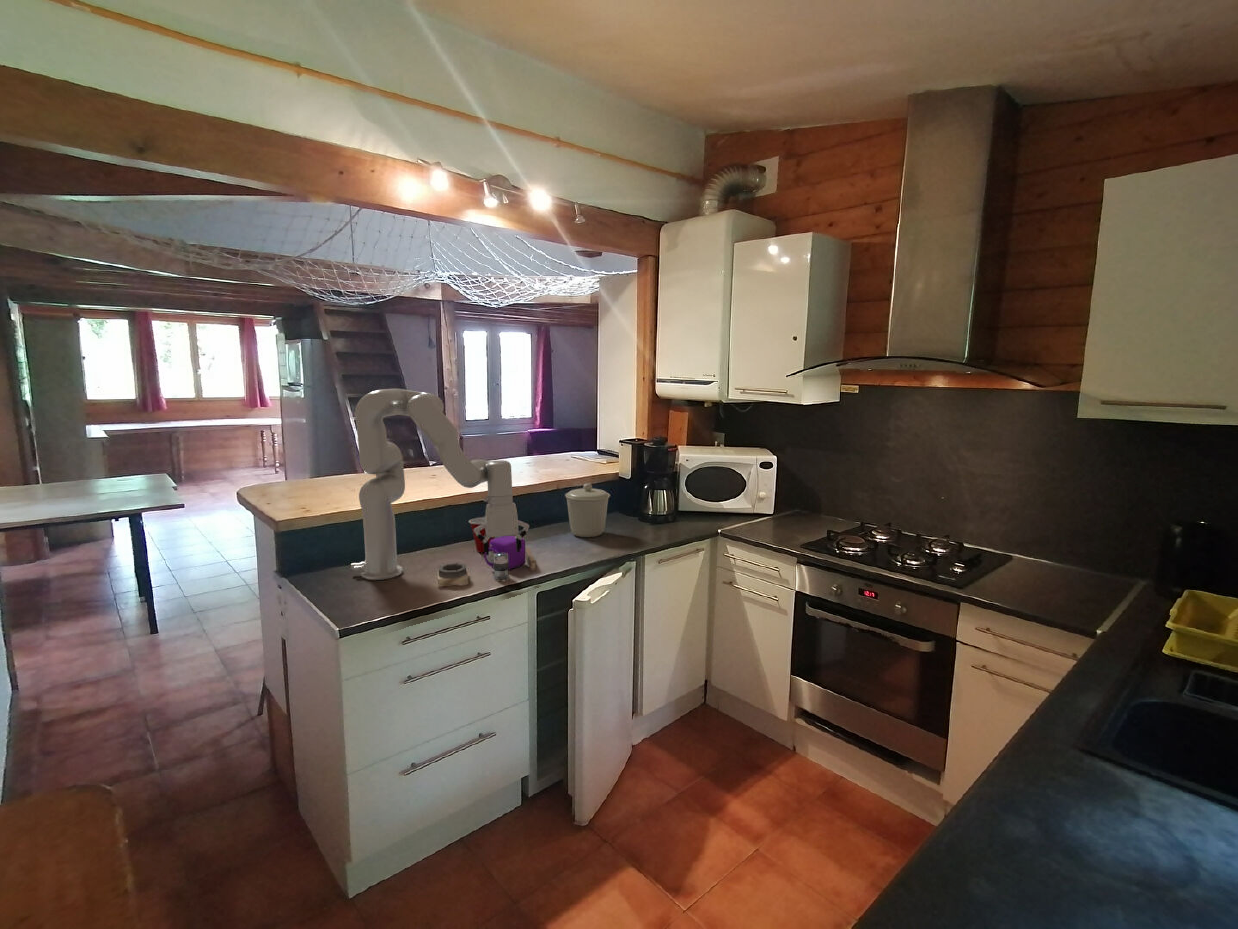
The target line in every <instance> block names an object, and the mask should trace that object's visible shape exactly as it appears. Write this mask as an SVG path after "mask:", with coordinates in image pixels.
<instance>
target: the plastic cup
mask: <svg viewBox="0 0 1238 929" xmlns="http://www.w3.org/2000/svg"><path fill="white" fill-rule="evenodd" d="M468 523H469V524H470V527H471V530H472V534H473V539H474V543H475V549H476V551H477V552H478V553H482V552H484V544H483V542H482V541H481V540H480V539H479V538H478V537H477V535H476V534H475V532H474V529H475V528H476V527H478V526H480V525H482V524H483V523H485V516H482V517H476V518H472V519H469V520H468ZM479 532H480V534H481V535H482V536H485V534H486V530H485V528H484V529H482V530H480V531H479ZM495 538H496V537H490V538H489V540H488V544H489V543H490V541H491V540H492V539H495Z"/></svg>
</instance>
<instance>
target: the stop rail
mask: <svg viewBox="0 0 1238 929" xmlns="http://www.w3.org/2000/svg"><path fill="white" fill-rule="evenodd" d="M525 558H526V559H525V562H526V563H527V566H528V565H529V566H528V568H529V569H530V571H535V570H536V559H535V557H534V555H533V553H532V550H531V549H530V548H529V547H525Z"/></svg>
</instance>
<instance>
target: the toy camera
mask: <svg viewBox="0 0 1238 929" xmlns="http://www.w3.org/2000/svg"><path fill="white" fill-rule="evenodd" d="M516 538H517V537H516V536H515V535H514V536H504V537H495V539H492V540H491V541H490V543H489V555H487V554H486V552H485V553H484V560H485V562H486V564H487V565H488V566H489V567H491V568H493V562H494V554H496V553H507V554H508V561H509V569H508V571H509V570H511V569H515V568H518V567H520V566H522V565H524V564H525V563H526V559H525V548H526V540H525V539H524V538H522V539H521V549H520V552H517V550H516Z"/></svg>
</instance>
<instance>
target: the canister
mask: <svg viewBox="0 0 1238 929" xmlns="http://www.w3.org/2000/svg"><path fill="white" fill-rule="evenodd" d="M564 495H565V496H564V497H565V498H566V501H567V502H566V505H567V514H568V519H569V528H570V532H571V533H572V534H573V535H574V536H576V537H579V538H594V537H598V536H599V537H600V536H601V535H602V534H603V533H604V531H605V526H606V520H607V513H608V512H607V511H608V503H609V498H610V497H611V494H610V493H608V492H607V491H606V490H603V489H598V488H593V485H592V484H591V483H584V484H583V487H582V488H576V489H571V490H570V491H568V492H567V493H565V494H564Z"/></svg>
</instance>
